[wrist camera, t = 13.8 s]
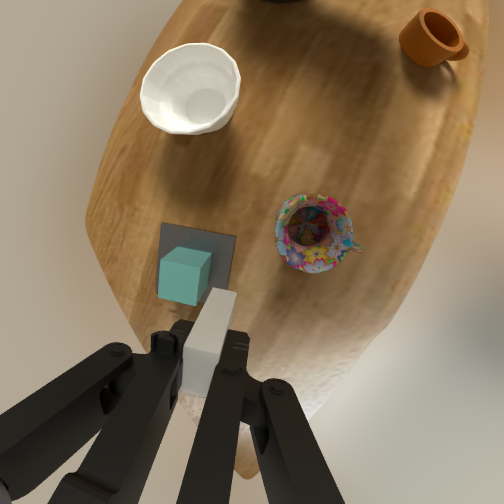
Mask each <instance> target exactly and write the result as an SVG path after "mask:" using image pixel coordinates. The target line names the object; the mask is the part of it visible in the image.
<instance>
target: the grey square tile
mask: <svg viewBox="0 0 504 504" xmlns="http://www.w3.org/2000/svg"><path fill="white" fill-rule="evenodd" d="M235 239H236V236H232V235H227V234H222V233H217V232H211V231H206V230H201V229H195V228H190V227H185V226H179V225H174V224H168V223H163V222H162V223H161V232H160V241H159V252H158V263H157V276H156V292H157V293H158V287H159V273H160V260H161V259H162V258H163V257H165V256H166V255H167V254H168V253H170V252H171V251H172V250H174V249H175V248H176V247H183V248H188V249H193V250H198V251H203V252H208V253H212V256H211V263H210V270H209V277H208V284H207V287H206V289H205V291H204V293H203V295H202V296H201V298H200V300H199V302H200V303H204V304H205V302H206V300H207V298H208V296H209V294H210V292H211V290H212V288H213V287H214V288H218V289H223V290H227V286H228V280H229V274H230V268H231V262H232V256H233V251H234V245H235Z"/></svg>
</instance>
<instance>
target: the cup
mask: <svg viewBox="0 0 504 504" xmlns="http://www.w3.org/2000/svg"><path fill="white" fill-rule="evenodd" d="M240 81H241V77H240V74H239V71H238V67H237V64H236V61H235V60H234V59H233V58H232V57H231V56H230V55H229V54H227V53H226V52H225V51H224V50H223V49H221V48H218V47H216V46H213V45H210V44H207V43H191V44H185V45H182V46H179V47H176V48H174V49H171V50H169V51H167V52H166V53H165V54H164V55H162V56H161V57H160V58H159V59H157V60H156V61H155V62H154V63H153V64H152V66H151V67H150V69H149V70H148V72H147V73H146V75H145V77H144V78H143V82H142V87H141V92H140V100H141V105H142V110H143V113H144V114H145V116H146V117H147V118H148V119H149V121H150V122H151V123H152V124H153V126H155V127H157V128H159V129H161V130H163V131H165V132H167V133H169V134H185V135H199V134H202V133H209V132H213V131H217V130H219V129H221V128H222V127H223V126H224V125H226V124H227V123H228V121H229V120H230V118H231V117H232V115H233V112H234V109H235V108H236V106H237V103H238V96H239V89H240Z"/></svg>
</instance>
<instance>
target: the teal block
mask: <svg viewBox="0 0 504 504" xmlns="http://www.w3.org/2000/svg"><path fill="white" fill-rule="evenodd" d="M211 256H212V253H208V252H203V251H198V250H193V249H188V248H183V247H176V248H175V249H174V250H172V251H171V252H170V253H168V254H167V255H166V256H165V257H163V258H162V259H161V260H160V273H159V287H158V297H159V298H163V299H167V300H171V301H175V302H179V303H184V304H188V305H192V306H196V305H197V303H198V302H199V300H200V298H201V296H202V295H203V293H204V291H205V289H206V287H207V284H208V277H209V270H210V263H211Z"/></svg>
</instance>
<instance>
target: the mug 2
mask: <svg viewBox="0 0 504 504" xmlns="http://www.w3.org/2000/svg"><path fill="white" fill-rule="evenodd" d="M399 41H400V44H401V47H402V49H403V50H404V52H405V53H406V54H407V56H408V57H409V58H410V59H411V60H413V61H414V62H415V63H417V64H419V65H421V66H423V67H428V68H430V67H434V66H436V65H437V64H439V63H441V62H442V61H444V60H449V61H458V60H462V59H464V58H466V57H467V55H468V53H469V47H468V45H467V43H466V42H465V41H463V37H462V35H461V32H460V31H459V29H458V27H457V26H456V25H455V23H454V22H453V21H452V20H451V19H450V18H449V17H447V16H446V15H445V14H444V13H442V12H440V11H438V10H436V9H433V8H424V9H422V10H421V11H420V12H419V13H418V14H417V15H416V16H415V17H414V18H413V19H412V20H411V21H410V22H409V23H408V24H407V25H406V27H405V28H404V29H403V30H402V31H401V33H400V35H399Z"/></svg>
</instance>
